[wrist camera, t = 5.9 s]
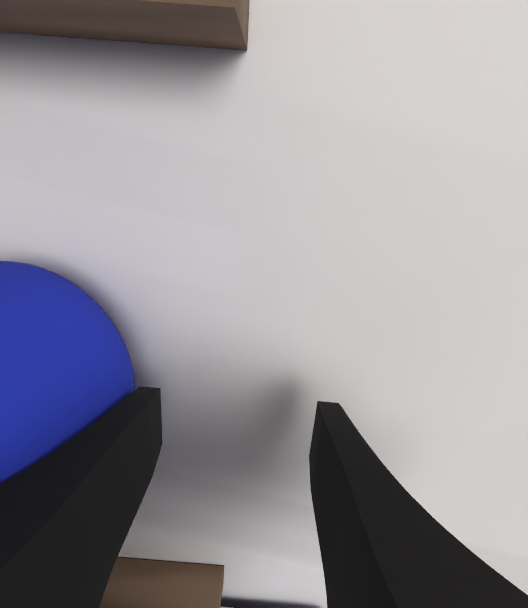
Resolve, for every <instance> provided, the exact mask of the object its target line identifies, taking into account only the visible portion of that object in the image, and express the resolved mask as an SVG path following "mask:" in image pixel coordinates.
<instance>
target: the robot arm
mask: <svg viewBox="0 0 528 608" xmlns="http://www.w3.org/2000/svg"><path fill="white" fill-rule="evenodd" d="M161 446H162V425H161V396H160V388H151V387H138V388H137V389H136V390H135V391H133V392H132V393H131V394H129V395H128V396H127V397H126V398H124V399H123V400H122V401H121V402H119V403H118V404H117V405H116V406H114V407H113V408H112V409H111V410H109V411H108V412H107V413H106V414H104V415H103V416H102V417H100V418H99V419H98V420H97V421H95V422H94V423H93V424H91V425H90V426H89V427H87V428H86V429H85V430H83V431H82V432H81V433H79V434H78V435H76V436H75V437H73V438H72V439H71V440H69V441H68V442H66V443H65V444H63V445H62V446H61V447H59V448H58V449H56V450H55V451H53V452H52V453H50V454H49V455H47V456H46V457H44V458H43V459H41V460H39V461H38V462H36V463H35V464H33V465H31V466H30V467H28V468H26V469H24V470H23V471H21V472H19V473H18V474H16V475H14V476H13V477H11V478H9V479H7V480H6V481H4V482H2V483H0V608H99V607H100V604H101V601H102V598H103V595H104V592H105V589H106V586H107V583H108V580H109V577H110V574H111V572H112V569H113V567H114V564H115V562H116V559H117V556H118V554H119V552H120V549H121V547H122V545H123V543H124V540H125V538H126V536H127V533H128V531H129V529H130V527H131V524H132V522H133V520H134V518H135V515H136V513H137V511H138V508H139V506H140V504H141V502H142V499H143V497H144V495H145V492H146V490H147V488H148V485H149V483H150V481H151V478H152V476H153V472H154V469H155V466H156V463H157V460H158V456H159V453H160V449H161ZM309 462H310V483H311V494H312V501H313V507H314V513H315V520H316V526H317V532H318V538H319V545H320V551H321V557H322V563H323V569H324V577H325V585H326V594H327V607H328V608H528V595H527V594H525V593H524V592H523V591H521V590H520V589H518V588H517V587H516V586H515V585H513V584H512V583H511V582H509V581H508V580H507V579H505V578H504V577H503V576H502V575H500V574H499V573H498V572H496V571H495V570H494V569H492V568H491V567H490V566H489V565H487V564H486V563H485V562H484V561H482V560H481V559H480V558H479V557H477V556H476V555H475V554H474V553H473V552H471V551H470V550H469V549H468V548H467V547H466V546H464V545H463V544H462V543H461V542H460V541H459V540H457V539H456V538H455V537H454V536H453V535H452V534H451V533H449V532H448V531H447V530H446V529H445V528H444V527H443V526H442V525H441V524H439V523H438V522H437V521H436V520H435V519H434V518H433V517H432V516H431V515H430V514H429V513H428V512H427V511H426V510H425V509H424V508H423V507H422V506H421V505H420V504H419V503H418V502H417V501H416V500H415V499H414V498H413V497H412V496H411V495H410V494H409V493H408V492H407V491H406V490H405V489H404V488H403V487H402V485H401V484H400V483H399V482H398V481H397V480H396V479H395V477H394V476H393V475H392V474H391V473H390V472H389V470H388V469H387V468H386V467H385V466H384V464H383V463H382V462H381V461H380V459H379V458H378V457H377V456H376V454H375V453H374V452H373V450H372V449H371V448H370V446H369V445H368V444H367V443H366V441H365V440H364V438H363V437H362V436H361V434H360V433H359V432H358V430H357V429H356V427H355V426H354V424H353V423H352V422H351V420H350V419H349V417H348V416H347V414H346V413H345V411H344V410H343V408H342V407H341V406H340V404H339V403H332V402H320V401H318V402H317V408H316V415H315V422H314V428H313V435H312V441H311V448H310V454H309ZM220 608H232V607H220Z"/></svg>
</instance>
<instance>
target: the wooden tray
mask: <svg viewBox="0 0 528 608" xmlns="http://www.w3.org/2000/svg"><path fill="white" fill-rule="evenodd" d="M248 20H249V0H0V32H6V33H20V34H34V35H47V36H61V37H75V38H88V39H102V40H116V41H130V42H143V43H157V44H171V45H185V46H198V47H212V48H226V49H239V50H247V42H248ZM223 579H224V566H218V565H205V564H193V563H181V562H168V561H156V560H144V559H132V558H119V557H117V559H116V562H115V564H114V567H113V569H112V572H111V574H110V577H109V580H108V583H107V586H106V589H105V592H104V595H103V598H102V601H101V604H100V607H99V608H220V605H221V597H222V590H223Z"/></svg>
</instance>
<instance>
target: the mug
mask: <svg viewBox="0 0 528 608" xmlns="http://www.w3.org/2000/svg"><path fill="white" fill-rule="evenodd" d="M133 391H135V385H134V372H133V369H132V365H131V361H130V357H129V354H128V351H127V349H126V346H125V344H124V342H123V340H122V338H121V336H120V334H119V332H118V331H117V329H116V328H115V326H114V324H113V323H112V321H111V320H110V318H109V317H108V316H107V315H106V313H105V312H104V311H103V310H102V308H101V307H100V306H99V305H98V304H97V303H96V302H95V301H94V300H93V299H92V298H91V297H90V296H89V295H87V294H86V293H85V292H84V291H82V290H81V289H80V288H79V287H77V286H76V285H74V284H73V283H72V282H70V281H69V280H67V279H65V278H63V277H61V276H59V275H58V274H55V273H53V272H51V271H48V270H46V269H43V268H40V267H37V266H33V265H29V264H24V263H17V262H9V261H0V483H2V482H4V481H6V480H7V479H9V478H11V477H13V476H14V475H16V474H18V473H19V472H21V471H23V470H24V469H26V468H28V467H30V466H31V465H33V464H35V463H36V462H38V461H39V460H41V459H43V458H44V457H46V456H47V455H49V454H50V453H52V452H53V451H55V450H56V449H58V448H59V447H61V446H62V445H63V444H65V443H66V442H68V441H69V440H71V439H72V438H73V437H75V436H76V435H78V434H79V433H81V432H82V431H83V430H85V429H86V428H87V427H89V426H90V425H91V424H93V423H94V422H95V421H97V420H98V419H99V418H100V417H102V416H103V415H104V414H106V413H107V412H108V411H109V410H111V409H112V408H113V407H114V406H116V405H117V404H118V403H119V402H121V401H122V400H123V399H124V398H126V397H127V396H128V395H129V394H131V393H132V392H133Z"/></svg>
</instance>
